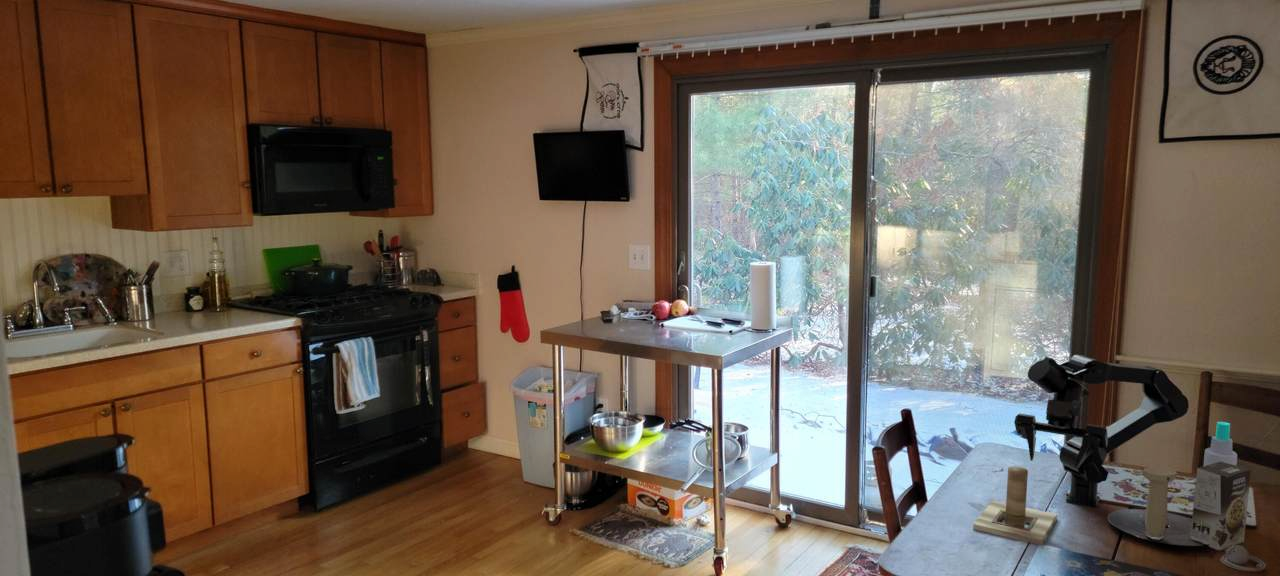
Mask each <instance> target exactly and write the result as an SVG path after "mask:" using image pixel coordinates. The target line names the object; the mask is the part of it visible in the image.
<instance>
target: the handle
mask: <svg viewBox="0 0 1280 576" xmlns="http://www.w3.org/2000/svg"><path fill="white" fill-rule="evenodd" d="M1177 475H1178V472H1177V471H1176V470H1174V469H1172V468H1168V467H1163V466H1151V467H1145V468H1143V469H1142V476H1143V477H1144V478H1145V479H1147V480H1149V487H1148V494H1147V500H1146V508H1145V514H1144V515H1145V519H1144V521H1145V522H1144V523H1145V524H1144V525H1145V530H1146V531H1145V535H1146V534H1147V535H1149V536H1151V537H1162V536H1165V530H1166V526H1167V521H1168V492H1169V491H1168V489H1169V488H1168V487H1169V483H1171V482H1173V481H1174V480H1176V479H1177V477H1178V476H1177Z"/></svg>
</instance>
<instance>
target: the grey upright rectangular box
mask: <svg viewBox="0 0 1280 576" xmlns="http://www.w3.org/2000/svg"><path fill="white" fill-rule="evenodd" d="M1251 472H1252V470H1251V469H1249V468H1247V467H1243V466H1240V465H1237V464H1236V465H1232V464H1228V463H1224V462H1217V463H1214V464H1210V465H1207V466H1204V465H1202V466H1199V467H1197V469H1196V478H1195V485H1194V486H1195V488H1194V495H1193V505H1192V506H1193V507H1192V508H1193V509H1192V516H1191V517H1192V518H1191V527H1190V535H1191V536H1193V537H1196V538H1199V539H1203V540H1205V541H1207V542H1210V543H1211V544H1210V545H1209V546H1208V547H1209V548H1211V549H1214V550H1216V551H1222V550H1224V549H1227V547H1228V548H1230V547H1232V546H1231V545H1233V546H1237V545H1238V544H1241V543H1244V541H1245V535H1246V534H1245V533H1246V524H1247V515H1248V503H1249V494H1250V484H1251V475H1252V473H1251ZM1229 546H1230V547H1229Z"/></svg>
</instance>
